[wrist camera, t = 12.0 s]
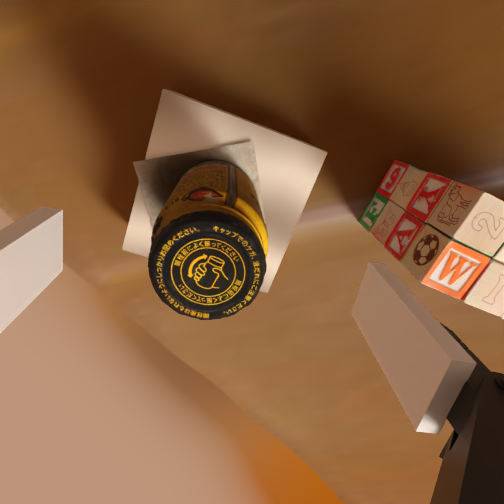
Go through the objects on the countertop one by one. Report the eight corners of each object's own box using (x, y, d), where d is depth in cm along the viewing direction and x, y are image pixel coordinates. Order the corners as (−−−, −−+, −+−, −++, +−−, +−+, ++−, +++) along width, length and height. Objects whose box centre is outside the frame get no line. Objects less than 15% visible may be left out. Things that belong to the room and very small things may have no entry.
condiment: (267, 237, 28) (292, 326, 17) (160, 255, 28) (115, 355, 17) (253, 140, 25) (271, 172, 14) (133, 161, 25) (59, 208, 14)
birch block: (173, 91, 28) (162, 88, 24) (312, 144, 31) (327, 152, 26) (137, 228, 32) (122, 249, 28) (262, 267, 35) (267, 293, 30)
